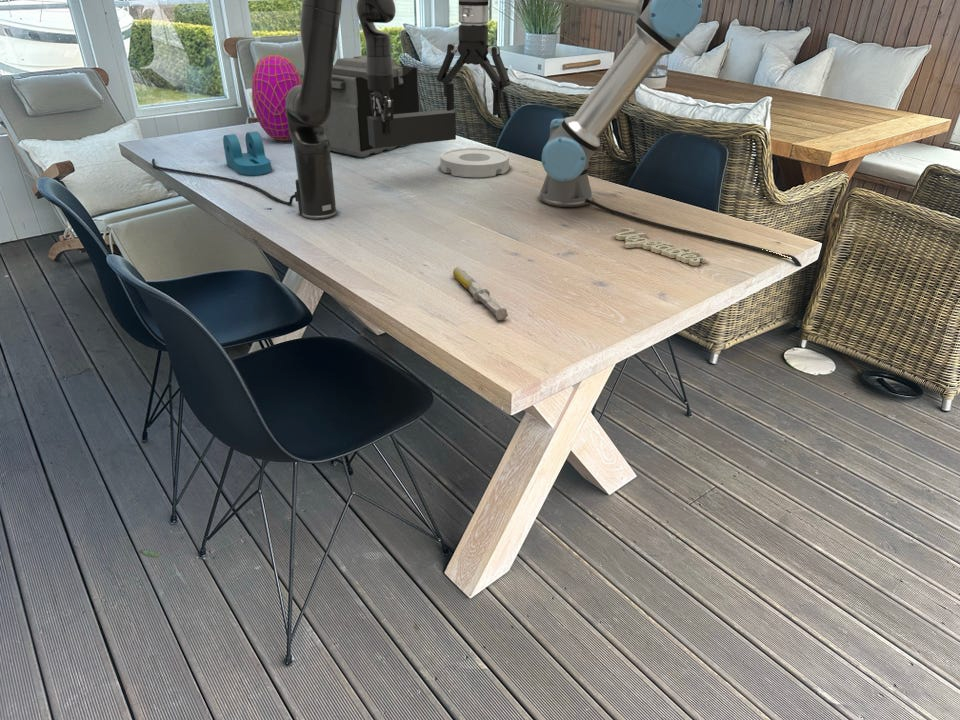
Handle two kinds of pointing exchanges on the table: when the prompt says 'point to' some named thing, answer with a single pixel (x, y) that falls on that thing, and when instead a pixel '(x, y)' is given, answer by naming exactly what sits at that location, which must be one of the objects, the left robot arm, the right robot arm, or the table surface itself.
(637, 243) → the decorative sign
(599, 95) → the right robot arm
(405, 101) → the cooler box
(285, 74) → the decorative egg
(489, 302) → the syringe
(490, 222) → the table surface
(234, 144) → the camera mount
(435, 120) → the bar
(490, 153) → the ashtray
